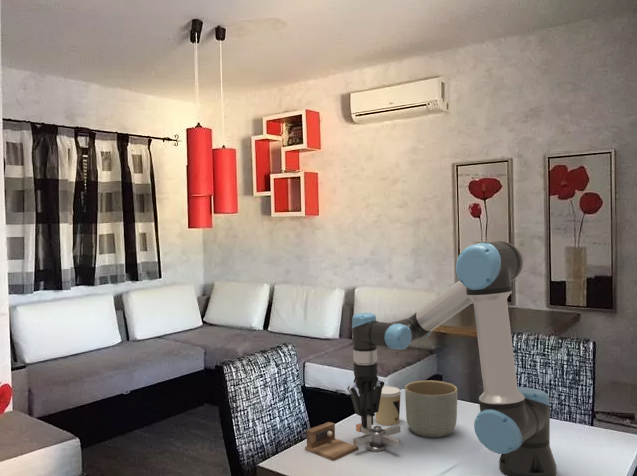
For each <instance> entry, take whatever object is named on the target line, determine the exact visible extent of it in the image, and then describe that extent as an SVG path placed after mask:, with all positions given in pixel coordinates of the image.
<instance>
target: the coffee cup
mask: <svg viewBox="0 0 637 476" xmlns="http://www.w3.org/2000/svg"><path fill="white" fill-rule="evenodd" d="M401 394H402V391H401V389H400V388H398V387H395V386H389V385H384V386H383V388H382V392H381V398H380V404H379V410H378V412H377V413H375V420H376V421H375V422H376V423H377V424H379V425H381V426H397V425H398V424H399V422H400V410H401Z"/></svg>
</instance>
